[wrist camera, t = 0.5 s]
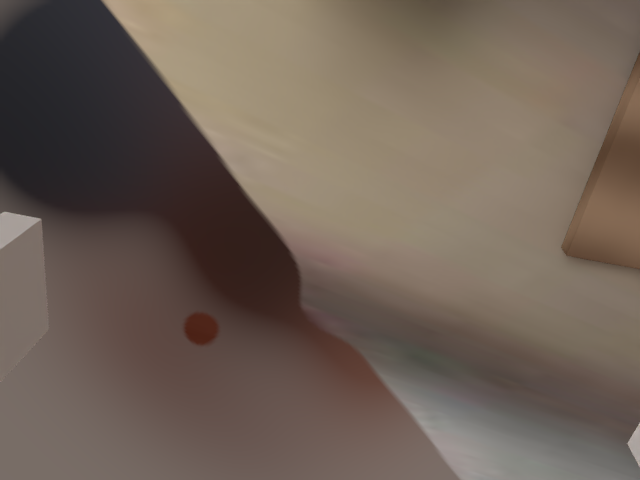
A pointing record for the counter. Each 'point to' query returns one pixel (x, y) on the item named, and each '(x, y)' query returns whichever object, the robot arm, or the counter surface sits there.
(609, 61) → the counter surface
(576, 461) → the counter surface
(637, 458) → the robot arm
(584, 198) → the post board
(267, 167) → the counter surface
